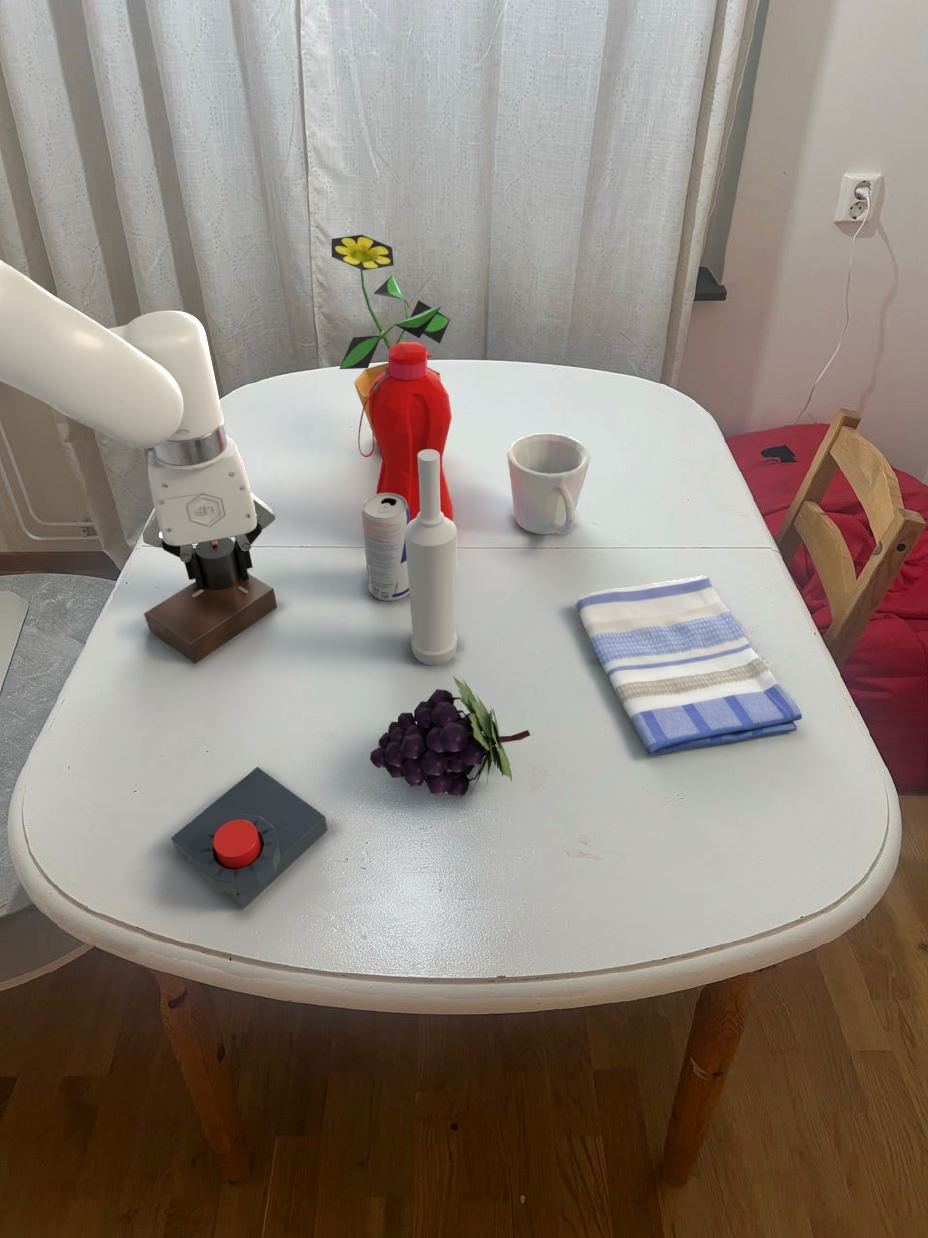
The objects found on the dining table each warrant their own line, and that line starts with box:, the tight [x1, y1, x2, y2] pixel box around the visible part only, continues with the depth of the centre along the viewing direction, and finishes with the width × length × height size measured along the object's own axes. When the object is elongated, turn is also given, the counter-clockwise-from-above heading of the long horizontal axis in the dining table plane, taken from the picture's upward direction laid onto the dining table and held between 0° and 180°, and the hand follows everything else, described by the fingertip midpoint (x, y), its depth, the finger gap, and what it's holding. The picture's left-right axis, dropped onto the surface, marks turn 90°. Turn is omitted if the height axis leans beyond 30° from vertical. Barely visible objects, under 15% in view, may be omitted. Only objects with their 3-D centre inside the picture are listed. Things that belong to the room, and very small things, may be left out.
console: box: [143, 559, 278, 665], centre depth 98 cm, size 14×10×3 cm
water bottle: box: [357, 341, 454, 522], centre depth 103 cm, size 9×11×25 cm
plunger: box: [213, 820, 261, 868], centre depth 71 cm, size 4×4×2 cm
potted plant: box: [331, 234, 451, 446], centre depth 117 cm, size 18×19×30 cm
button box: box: [170, 766, 328, 910], centre depth 75 cm, size 11×10×4 cm
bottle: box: [405, 449, 458, 666], centre depth 86 cm, size 5×5×25 cm
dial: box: [195, 537, 242, 590], centre depth 98 cm, size 4×4×5 cm
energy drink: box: [361, 493, 410, 602], centre depth 99 cm, size 5×5×12 cm
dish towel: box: [575, 574, 803, 755], centre depth 92 cm, size 17×24×3 cm
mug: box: [506, 432, 591, 536], centre depth 109 cm, size 10×15×10 cm
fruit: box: [369, 675, 531, 799], centre depth 79 cm, size 10×11×15 cm
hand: (222, 575), depth 99 cm, fingers closed on dial, 4 cm apart
